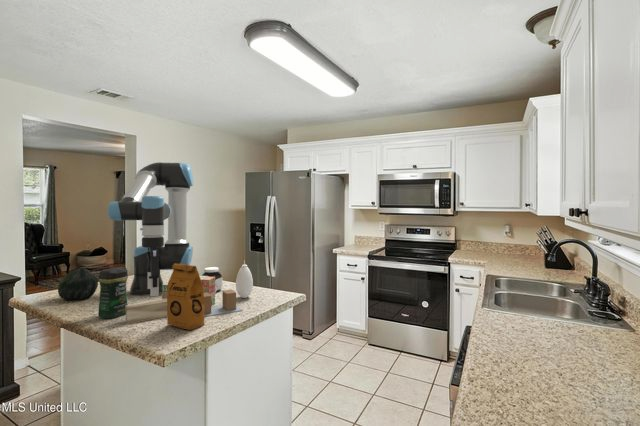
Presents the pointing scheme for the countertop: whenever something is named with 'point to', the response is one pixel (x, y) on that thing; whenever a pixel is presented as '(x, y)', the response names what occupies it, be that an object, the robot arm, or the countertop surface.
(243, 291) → the sauce bottle
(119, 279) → the coffee jar
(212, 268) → the spread jar
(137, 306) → the bar
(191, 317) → the coffee package
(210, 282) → the stack of blocks
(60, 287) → the squash
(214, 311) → the build board
